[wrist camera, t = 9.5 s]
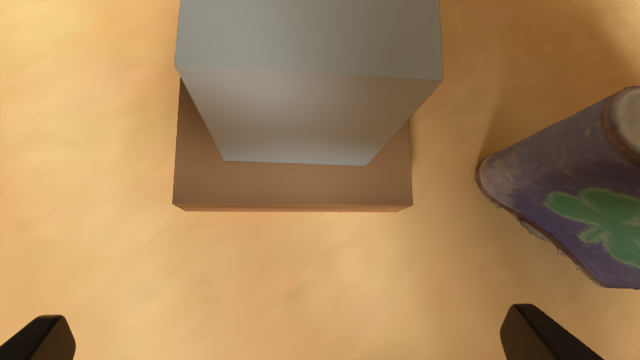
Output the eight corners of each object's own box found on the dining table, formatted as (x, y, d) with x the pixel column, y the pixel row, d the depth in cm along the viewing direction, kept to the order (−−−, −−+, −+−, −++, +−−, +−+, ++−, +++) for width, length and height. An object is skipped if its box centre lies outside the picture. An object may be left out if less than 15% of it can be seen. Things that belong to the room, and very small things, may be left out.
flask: (463, 182, 21) (653, 98, 10) (495, 140, 21) (704, 19, 11) (613, 302, 20) (975, 343, 10) (640, 255, 21) (1008, 245, 10)
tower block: (365, 165, 18) (443, 80, 9) (224, 160, 17) (174, 64, 9) (364, 39, 19) (432, -136, 11) (232, 30, 18) (195, -162, 10)
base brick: (394, 213, 21) (412, 205, 18) (188, 212, 20) (172, 203, 17) (386, 31, 23) (401, -4, 20) (199, 23, 22) (186, -15, 19)
